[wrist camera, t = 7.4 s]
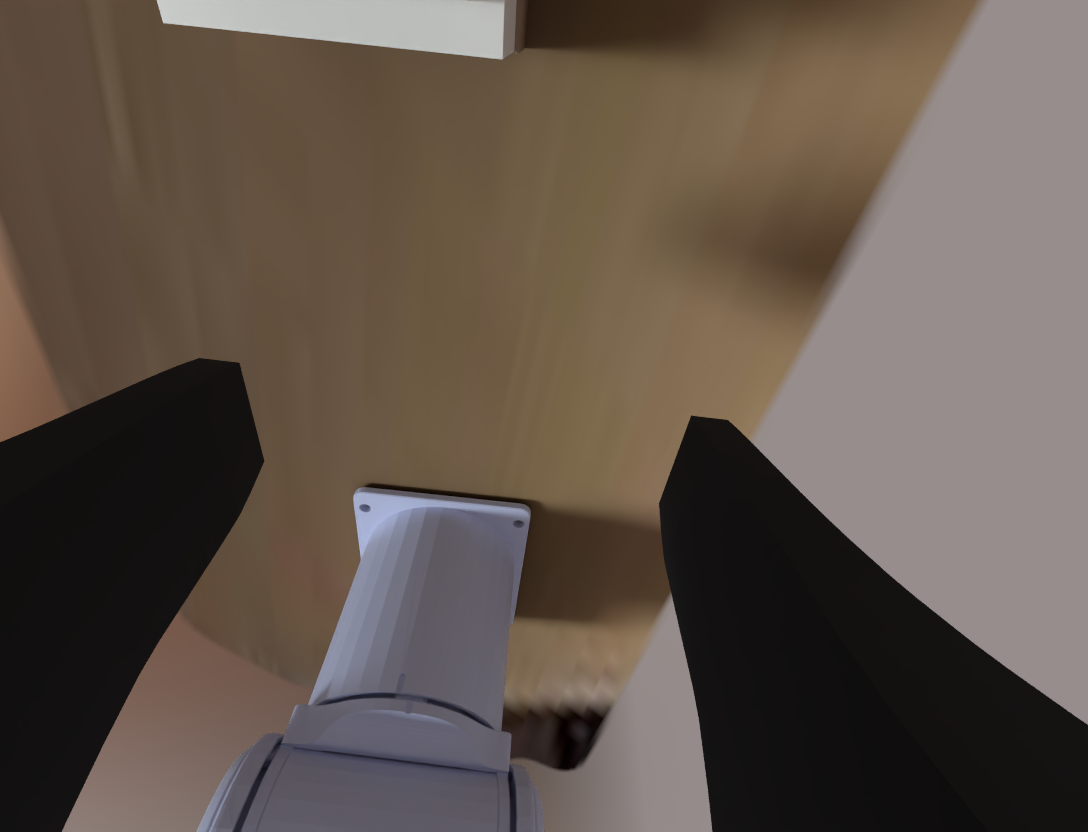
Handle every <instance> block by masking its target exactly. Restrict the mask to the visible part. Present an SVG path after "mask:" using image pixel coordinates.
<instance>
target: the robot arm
mask: <svg viewBox="0 0 1088 832" xmlns="http://www.w3.org/2000/svg"><path fill="white" fill-rule="evenodd" d="M263 463H264V458H263V454H262V450H261V446H260V442H259V438H258V434H257V430H256V427H255V423H254V419H253V415H252V411H251V407H250V403H249V399H248V395H247V391H246V387H245V383H244V379H243V375H242V371H241V367H240V363H236V362H228V361H219V360H211V359H202V358H198V359H195V360H193V361H190V362H187V363H184V364H181V365H179V366H176V367H174V368H171V369H169V370H166V371H164V372H161V373H159V374H157V375H154V376H152V377H150V378H147V379H145V380H143V381H140V382H138V383H136V384H134V385H131V386H129V387H127V388H125V389H122V390H120V391H118V392H116V393H113V394H111V395H109V396H107V397H104V398H102V399H100V400H98V401H95V402H93V403H91V404H89V405H86V406H84V407H82V408H80V409H77V410H75V411H73V412H70V413H68V414H66V415H64V416H61V417H59V418H57V419H55V420H53V421H50V422H48V423H46V424H43V425H41V426H39V427H37V428H34V429H32V430H29V431H27V432H24V433H22V434H19V435H17V436H15V437H12V438H10V439H7V440H5V441H2V442H0V832H62V830H63V828H64V825H65V823H66V821H67V819H68V817H69V815H70V813H71V811H72V808H73V806H74V804H75V802H76V800H77V798H78V796H79V794H80V792H81V790H82V788H83V786H84V784H85V781H86V779H87V777H88V775H89V773H90V771H91V769H92V767H93V765H94V762H95V761H96V759H97V757H98V754H99V752H100V750H101V748H102V746H103V744H104V742H105V740H106V738H107V736H108V734H109V732H110V730H111V729H112V727H113V725H114V723H115V720H116V719H117V717H118V715H119V713H120V711H121V709H122V707H123V705H124V703H125V701H126V699H127V697H128V695H129V694H130V692H131V690H132V688H133V686H134V684H135V682H136V680H137V678H138V676H139V674H140V672H141V671H142V669H143V667H144V666H145V664H146V662H147V661H148V659H149V657H150V655H151V654H152V652H153V650H154V649H155V647H156V645H157V644H158V642H159V640H160V639H161V637H162V636H163V634H164V633H165V631H166V629H167V628H168V627H169V625H170V623H171V622H172V620H173V619H174V617H175V616H176V614H177V613H178V611H179V610H180V608H181V606H182V605H183V603H184V602H185V600H186V599H187V597H188V596H189V594H190V593H191V591H192V589H193V588H194V586H195V585H196V583H197V582H198V580H199V579H200V577H201V576H202V574H203V572H204V571H205V569H206V568H207V566H208V565H209V563H210V562H211V560H212V559H213V557H214V555H215V554H216V552H217V551H218V549H219V547H220V546H221V544H222V543H223V541H224V540H225V538H226V536H227V535H228V533H229V532H230V530H231V529H232V527H233V525H234V524H235V522H236V520H237V519H238V517H239V515H240V514H241V511H242V509H243V507H244V505H245V503H246V501H247V499H248V497H249V495H250V493H251V491H252V488H253V486H254V484H255V481H256V479H257V477H258V474H259V472H260V470H261V467H262V465H263ZM353 500H354V508H355V515H356V523H357V531H358V539H359V547H360V555H361V562H360V564H359V567H358V570H357V573H356V575H355V578H354V581H353V584H352V586H351V589H350V592H349V594H348V597H347V600H346V603H345V605H344V608H343V611H342V614H341V616H340V619H339V622H338V625H337V627H336V630H335V633H334V635H333V638H332V641H331V644H330V646H329V649H328V652H327V655H326V657H325V660H324V663H323V666H322V668H321V671H320V674H319V676H318V679H317V682H316V685H315V687H314V690H313V693H312V696H311V699H310V702H309V704H308V705H303V704H298V705H296V706H295V708H294V711H293V714H292V716H291V719H290V721H289V724H288V727H287V729H286V732H285V734H277V733H269V734H265V735H264V736H263V737H262V738H260V739H259V740H258V741H257V742H256V743H255V744H254V745H253V746H251V747H250V748H249V749H247V750H246V751H244V752H243V753H242V754H241V755H240V756H239V757H238V758H237V759H236V760H235V762H234V763H233V764H232V766H231V767H230V768H229V770H228V771H227V773H226V775H225V776H224V778H223V780H222V782H221V783H220V785H219V787H218V789H217V790H216V792H215V794H214V796H213V798H212V800H211V802H210V804H209V806H208V808H207V810H206V812H205V814H204V817H203V819H202V821H201V823H200V825H199V828H198V830H197V832H544V817H543V809H542V803H541V798H540V795H539V792H538V790H537V788H536V787H535V785H534V784H533V782H532V780H531V778H530V775H529V773H528V771H527V770H526V768H525V767H523V766H521V765H517V764H510V763H509V762H510V747H511V734H510V733H508V732H502V731H501V726H502V714H503V702H504V690H505V677H506V665H507V653H508V640H509V628H510V625H511V624H512V623H513V621H514V615H515V609H516V603H517V597H518V591H519V584H520V578H521V572H522V566H523V560H524V554H525V548H526V542H527V536H528V529H529V523H530V517H531V510H530V508H529V507H528V506H527V505H525V504H520V503H511V502H501V501H492V500H482V499H473V498H463V497H454V496H444V495H435V494H425V493H416V492H407V491H397V490H388V489H378V488H369V487H361V488H359V489H357V490H356V492H355V494H354V498H353ZM364 504H366V505H368V506H366V505H364ZM659 508H660V521H661V534H662V544H663V553H664V560H665V565H666V570H667V575H668V579H669V584H670V588H671V593H672V597H673V602H674V606H675V611H676V615H677V619H678V624H679V628H680V633H681V637H682V641H683V646H684V650H685V655H686V659H687V663H688V668H689V672H690V677H691V681H692V685H693V690H694V696H695V701H696V706H697V711H698V717H699V723H700V731H701V739H702V746H703V753H704V762H705V769H706V778H707V785H708V794H709V802H710V813H711V821H712V831H713V832H1088V725H1087V724H1086V723H1084V722H1083V721H1081V720H1080V719H1078V718H1077V717H1075V716H1074V715H1073V714H1071V713H1070V712H1068V711H1067V710H1066V709H1064V708H1063V707H1061V706H1060V705H1058V704H1057V703H1056V702H1054V701H1053V700H1051V699H1050V698H1049V697H1047V696H1046V695H1044V694H1043V693H1041V692H1040V691H1039V690H1037V689H1036V688H1035V687H1033V686H1031V685H1030V684H1029V683H1027V682H1026V681H1024V680H1023V679H1022V678H1020V677H1019V676H1018V675H1016V674H1015V673H1013V672H1012V671H1011V670H1009V669H1008V668H1006V667H1005V666H1004V665H1002V664H1001V663H1000V662H998V661H997V660H995V659H994V658H993V657H992V656H990V655H989V654H987V653H986V652H985V651H984V650H982V649H981V648H979V647H978V646H977V645H975V644H974V643H973V642H971V641H970V640H969V639H968V638H966V637H965V636H964V635H963V634H961V633H960V632H959V631H957V630H956V629H955V628H954V627H952V626H951V625H950V624H949V623H947V622H946V621H945V620H944V619H942V618H941V617H940V616H939V615H937V614H936V613H935V612H933V611H932V610H931V609H930V608H929V607H927V606H926V605H925V604H924V603H922V602H921V601H920V600H918V599H917V598H916V597H915V596H914V595H912V594H911V593H910V592H909V591H908V590H906V589H905V588H904V587H903V586H902V585H901V584H899V583H898V582H897V581H896V580H895V579H893V578H892V577H891V576H890V575H889V574H888V573H886V572H885V571H884V570H883V569H882V568H881V567H880V566H879V565H878V564H876V563H875V562H874V561H873V560H872V559H871V558H870V557H868V556H867V555H866V554H865V553H864V552H863V551H862V550H861V549H860V548H858V547H857V546H856V545H855V544H854V543H853V542H852V541H851V540H850V539H849V538H847V537H846V536H845V535H844V534H843V533H842V532H841V531H840V530H839V529H838V528H837V527H836V526H835V525H834V524H833V523H832V522H830V521H829V520H828V519H827V518H826V517H825V516H824V515H823V514H822V513H821V512H820V511H819V510H818V509H817V508H816V507H815V506H814V505H813V504H812V503H811V502H810V501H809V500H808V499H807V498H806V497H805V496H804V495H803V494H802V493H800V491H799V490H798V489H797V488H796V487H795V486H794V485H793V484H792V483H791V482H790V481H789V480H788V479H787V478H786V477H785V476H784V475H783V474H782V473H781V472H780V471H779V470H778V469H777V468H776V467H775V466H774V465H773V464H772V463H771V462H770V461H769V460H768V459H767V458H766V457H765V456H764V455H763V454H762V453H761V452H760V451H759V450H758V449H757V448H756V447H755V446H754V445H753V444H752V443H751V442H750V441H749V440H748V439H747V438H746V437H745V436H744V435H743V434H742V433H741V432H740V431H739V430H738V429H737V428H736V427H735V426H734V425H733V424H732V423H730V422H729V421H728V420H723V419H714V418H706V417H697V416H691V418H690V421H689V423H688V426H687V429H686V431H685V434H684V437H683V440H682V442H681V445H680V448H679V451H678V453H677V456H676V459H675V461H674V464H673V467H672V470H671V472H670V475H669V478H668V481H667V483H666V486H665V489H664V491H663V494H662V497H661V500H660V502H659ZM516 520H520V522H518V521H516Z"/></svg>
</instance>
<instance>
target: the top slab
mask: <svg viewBox="0 0 1088 832" xmlns="http://www.w3.org/2000/svg"><path fill="white" fill-rule="evenodd" d="M157 2H158V6H159V9H160V13H161V17H162V20H163V23H169V24H179V25H188V26H197V27H207V28H216V29H225V30H234V31H244V32H253V33H262V34H272V35H281V36H290V37H299V38H309V39H318V40H327V41H336V42H346V43H355V44H364V45H374V46H383V47H392V48H401V49H411V50H420V51H429V52H439V53H448V54H457V55H466V56H476V57H485V58H494V59H504V58H505V57H507V56H508V55H510V54H511V53H513V52H514V46H515V24H516V2H517V0H157Z"/></svg>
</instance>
